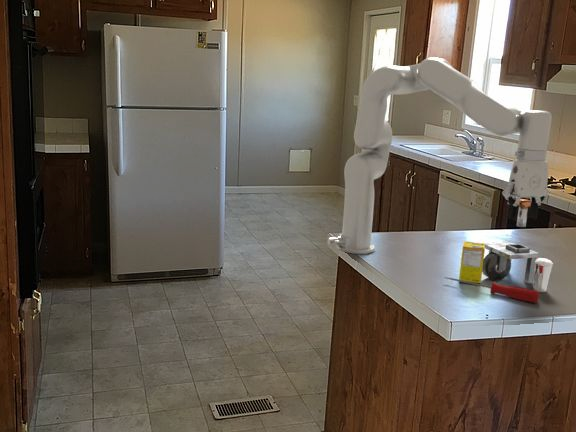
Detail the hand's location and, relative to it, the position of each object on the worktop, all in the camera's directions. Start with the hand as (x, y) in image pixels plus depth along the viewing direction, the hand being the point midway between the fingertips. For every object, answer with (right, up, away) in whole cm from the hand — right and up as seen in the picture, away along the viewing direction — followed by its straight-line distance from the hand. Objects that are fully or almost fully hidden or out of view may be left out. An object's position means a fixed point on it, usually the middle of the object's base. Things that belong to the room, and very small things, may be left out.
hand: (522, 218), depth 170 cm
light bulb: (0, -2, +1) cm, 2 cm away
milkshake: (+4, -20, -3) cm, 21 cm away
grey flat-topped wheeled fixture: (-4, -18, +5) cm, 19 cm away
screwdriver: (-12, -21, -7) cm, 25 cm away
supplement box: (-14, -18, +2) cm, 23 cm away
